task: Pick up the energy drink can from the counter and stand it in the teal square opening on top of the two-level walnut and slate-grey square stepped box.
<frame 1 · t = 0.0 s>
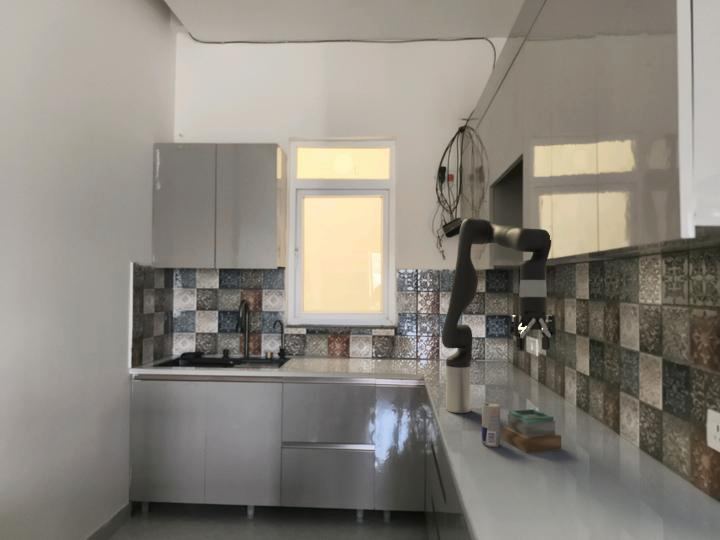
hand: (533, 350, 132), 29 cm above the worktop, tool pointing down, fingers open, 8 cm apart
square stepped box: (531, 444, 136), on the worktop
energy drink: (491, 444, 136), on the worktop
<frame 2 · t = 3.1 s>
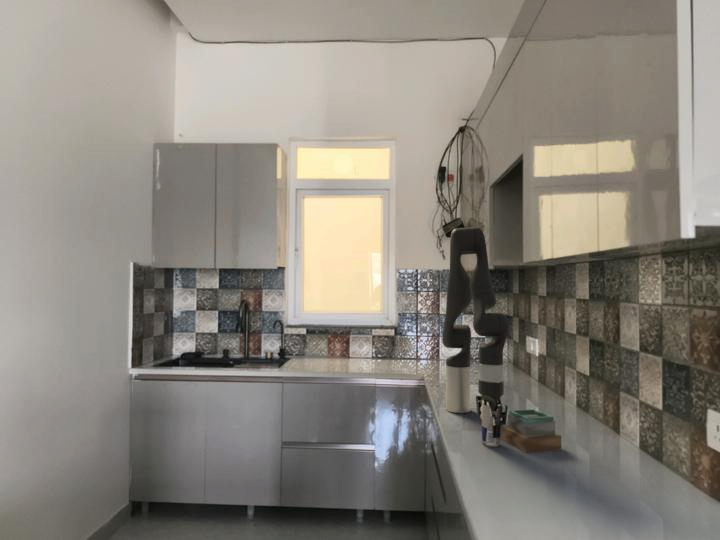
hand: (491, 434, 136), 3 cm above the worktop, tool pointing down, fingers closed on energy drink, 5 cm apart
energy drink: (491, 444, 136), on the worktop, touching gripper
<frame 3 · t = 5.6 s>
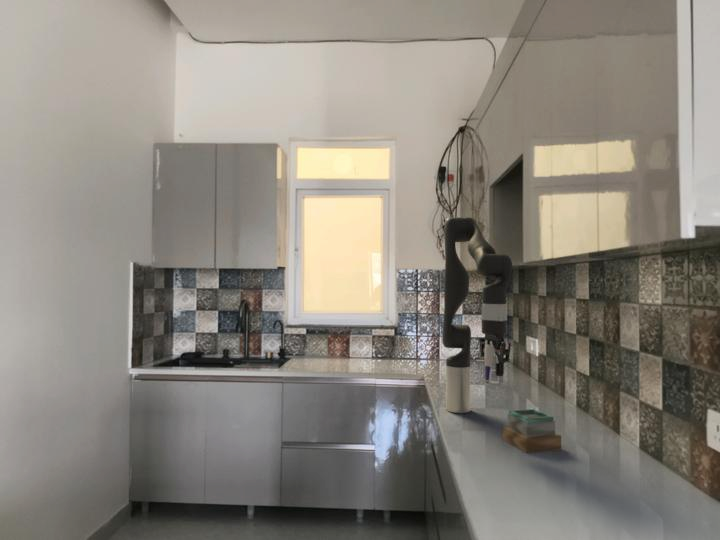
hand: (494, 373, 137), 21 cm above the worktop, tool pointing down, fingers closed on energy drink, 5 cm apart
energy drink: (494, 384, 137), point 18 cm above the worktop, touching gripper
when the fingers open (13 cm above the worktop, at t = 8.4 s): energy drink drops 2 cm, resting on square stepped box.
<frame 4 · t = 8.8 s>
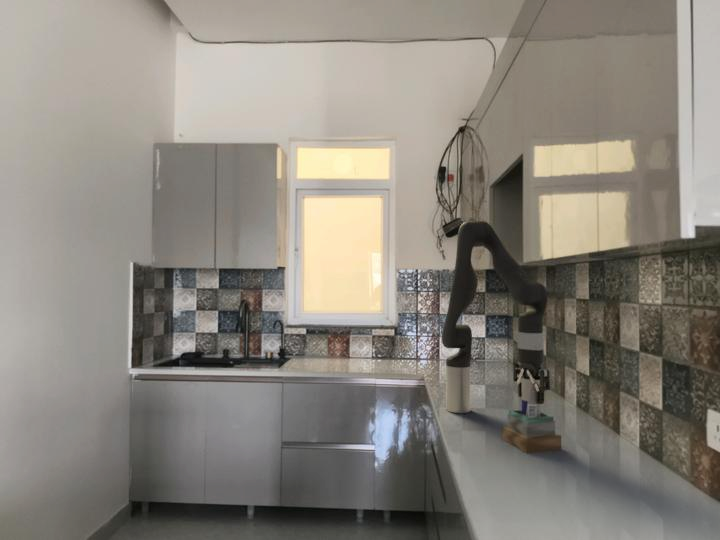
hand: (530, 400, 137), 13 cm above the worktop, tool pointing down, fingers open, 8 cm apart
energy drink: (530, 418, 136), point 8 cm above the worktop, touching square stepped box
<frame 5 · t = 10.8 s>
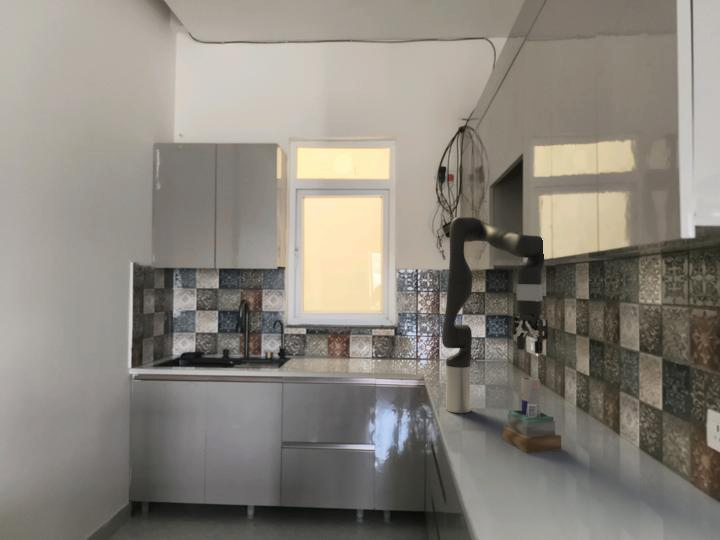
hand: (529, 351, 138), 28 cm above the worktop, tool pointing down, fingers open, 8 cm apart
nothing on the worktop moved.
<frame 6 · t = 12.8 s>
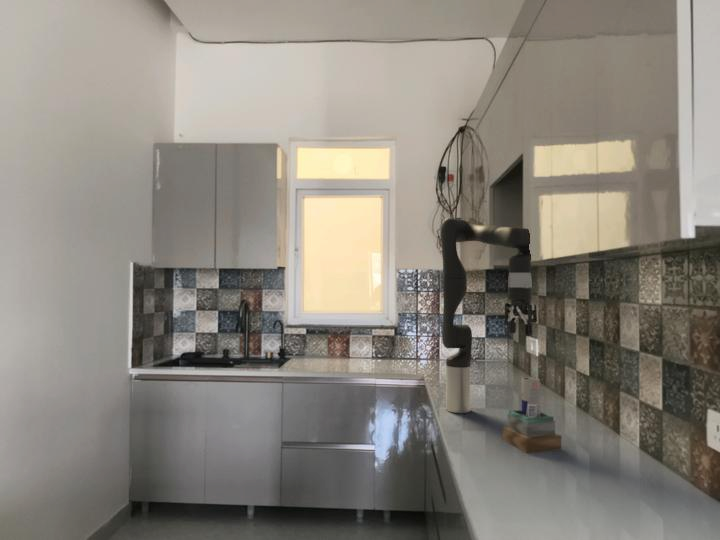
hand: (520, 334, 150), 32 cm above the worktop, tool pointing down, fingers open, 8 cm apart
nothing on the worktop moved.
at the end: energy drink 0.1 cm off-centre on the square stepped box, point 7.8 cm above the square stepped box's base; energy drink tilted 0°; the gripper is holding nothing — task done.
